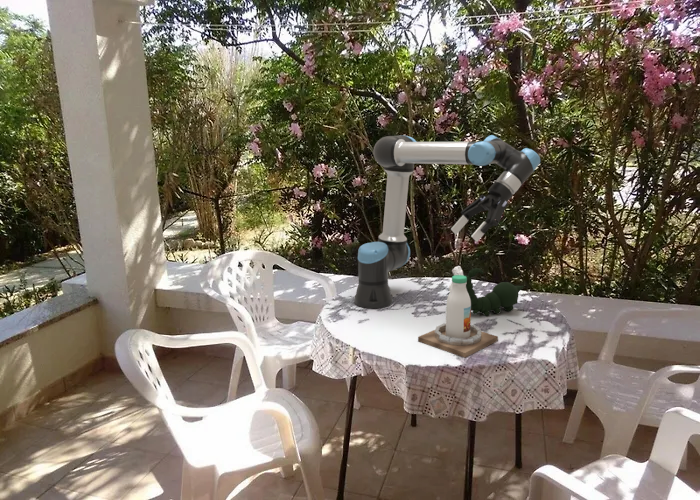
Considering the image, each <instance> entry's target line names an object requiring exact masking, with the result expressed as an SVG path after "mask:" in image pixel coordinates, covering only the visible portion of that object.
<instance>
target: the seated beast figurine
mask: <svg viewBox="0 0 700 500" xmlns="http://www.w3.org/2000/svg"><path fill="white" fill-rule="evenodd" d="M451 272H452V275H453V276H455V275H463V276H464V271H463V269H462V267H461V266H460V265H457V266H455V267H454V268H452V270H451ZM452 285H453V284H452V282H451V283H450V285H449V286H448V291H449V292H450V291H451V289H452Z"/></svg>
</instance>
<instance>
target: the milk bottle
mask: <svg viewBox="0 0 700 500" xmlns="http://www.w3.org/2000/svg"><path fill="white" fill-rule="evenodd" d="M451 283H452V284H453V285H452V289H451V291H449V294H448V296H447V299H446V307H445V308H446V309H445V310H446V311H445V312H446V313H445V323H446V336H449V337H453V338H468V337H470V327H471V325H472V324H471V320H472V319H471V318H472V311H471V300H470V297H469V294H468V292H467V289H466V284H467V277H466V276H465V275H464V274H463V275H453V276H451Z"/></svg>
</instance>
